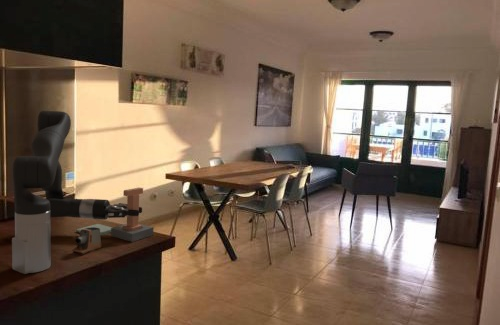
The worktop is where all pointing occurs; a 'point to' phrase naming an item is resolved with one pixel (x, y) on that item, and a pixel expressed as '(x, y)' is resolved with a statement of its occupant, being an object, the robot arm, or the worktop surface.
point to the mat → (103, 228)
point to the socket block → (132, 233)
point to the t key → (132, 208)
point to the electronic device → (87, 241)
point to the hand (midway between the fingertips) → (140, 211)
